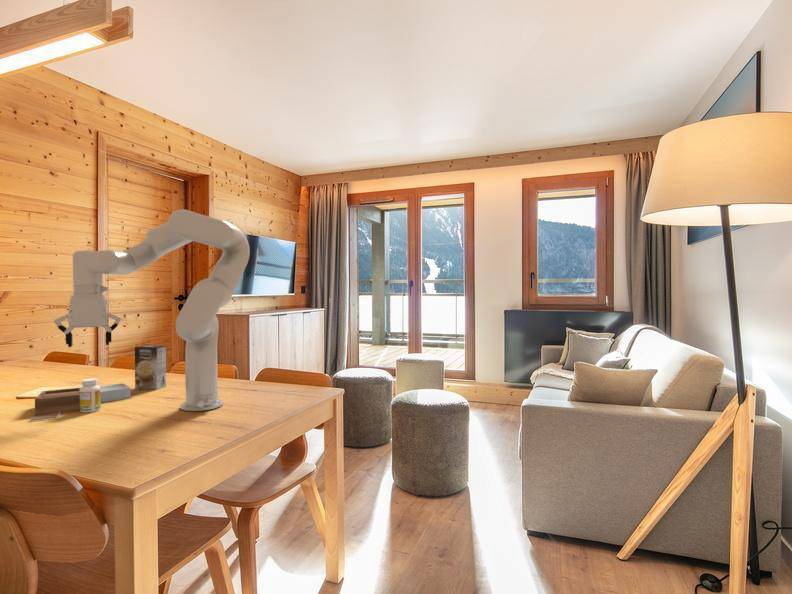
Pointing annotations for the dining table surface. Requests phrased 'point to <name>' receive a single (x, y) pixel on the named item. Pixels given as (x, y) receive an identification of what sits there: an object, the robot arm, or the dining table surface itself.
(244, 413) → the dining table surface
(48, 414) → the swatch
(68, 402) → the walnut tray
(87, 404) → the supplement bottle
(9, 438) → the dining table surface
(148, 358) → the coffee box
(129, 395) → the slate block
